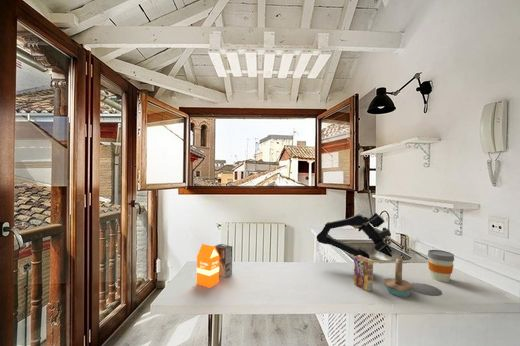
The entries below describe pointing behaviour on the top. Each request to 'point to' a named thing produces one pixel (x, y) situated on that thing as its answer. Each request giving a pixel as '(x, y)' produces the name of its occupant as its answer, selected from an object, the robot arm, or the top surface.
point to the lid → (398, 279)
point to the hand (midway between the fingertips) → (391, 254)
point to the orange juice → (207, 266)
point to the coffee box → (224, 259)
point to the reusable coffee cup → (440, 265)
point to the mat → (426, 289)
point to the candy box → (363, 272)
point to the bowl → (398, 292)
